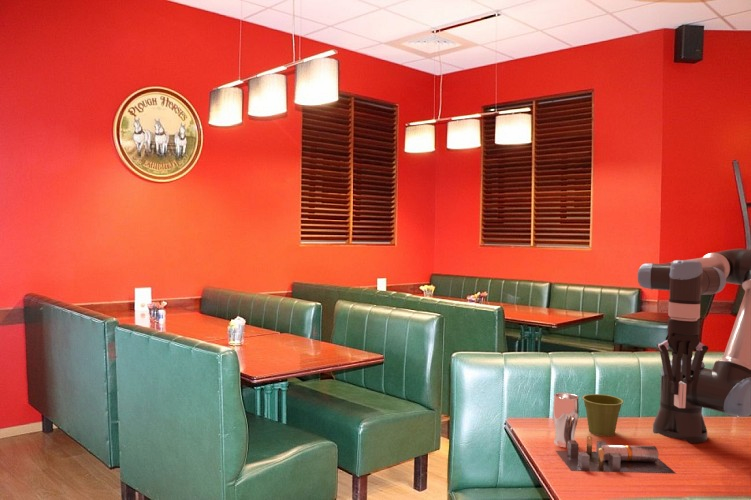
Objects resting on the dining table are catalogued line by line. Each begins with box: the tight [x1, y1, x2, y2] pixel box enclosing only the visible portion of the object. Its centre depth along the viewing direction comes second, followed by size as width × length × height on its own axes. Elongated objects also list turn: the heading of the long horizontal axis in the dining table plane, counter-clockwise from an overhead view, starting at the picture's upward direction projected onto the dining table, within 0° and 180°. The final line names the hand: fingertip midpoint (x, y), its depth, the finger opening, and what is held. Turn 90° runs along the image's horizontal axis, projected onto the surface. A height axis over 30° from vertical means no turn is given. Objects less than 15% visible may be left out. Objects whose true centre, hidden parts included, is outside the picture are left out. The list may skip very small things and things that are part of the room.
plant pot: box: [581, 393, 624, 437], centre depth 189 cm, size 12×12×11 cm
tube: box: [601, 444, 659, 462], centre depth 166 cm, size 14×4×4 cm, turn 90°
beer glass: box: [552, 392, 580, 449], centre depth 177 cm, size 7×7×15 cm
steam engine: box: [555, 435, 677, 475], centre depth 165 cm, size 27×14×6 cm, turn 90°
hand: (679, 406), depth 164 cm, fingers closed
